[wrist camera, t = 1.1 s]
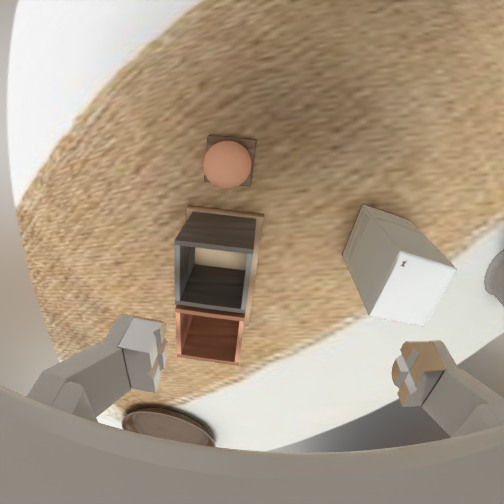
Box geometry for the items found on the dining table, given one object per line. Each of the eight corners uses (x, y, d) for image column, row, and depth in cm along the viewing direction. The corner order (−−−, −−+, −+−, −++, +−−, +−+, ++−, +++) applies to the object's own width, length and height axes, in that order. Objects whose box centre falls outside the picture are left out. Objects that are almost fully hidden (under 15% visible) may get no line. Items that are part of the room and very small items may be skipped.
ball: (209, 136, 33) (200, 141, 29) (255, 140, 33) (253, 147, 29) (205, 179, 35) (196, 191, 31) (249, 184, 35) (247, 197, 31)
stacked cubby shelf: (188, 205, 37) (166, 236, 29) (263, 214, 37) (262, 247, 29) (185, 313, 44) (171, 357, 36) (248, 321, 45) (244, 367, 37)
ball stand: (209, 135, 33) (207, 135, 33) (256, 139, 34) (255, 140, 33) (205, 179, 36) (204, 181, 35) (250, 184, 36) (250, 186, 35)
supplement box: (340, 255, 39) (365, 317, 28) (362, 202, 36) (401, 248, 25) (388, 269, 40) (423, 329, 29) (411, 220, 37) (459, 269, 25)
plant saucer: (114, 423, 61) (110, 433, 59) (144, 386, 54) (139, 400, 51) (190, 457, 66) (188, 468, 63) (235, 429, 58) (234, 442, 55)
